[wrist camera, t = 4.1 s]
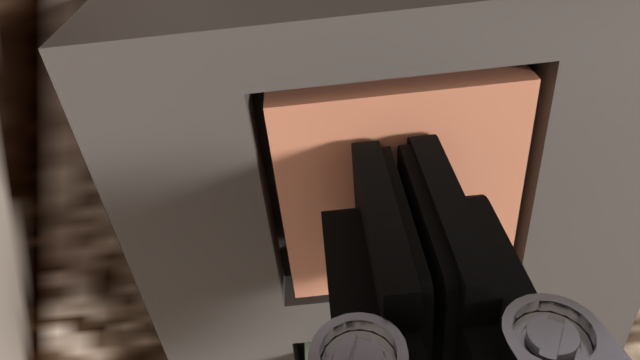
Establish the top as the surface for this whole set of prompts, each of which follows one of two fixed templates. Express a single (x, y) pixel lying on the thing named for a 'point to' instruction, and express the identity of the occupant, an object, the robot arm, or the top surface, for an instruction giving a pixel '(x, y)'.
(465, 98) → the terracotta button
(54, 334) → the top surface
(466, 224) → the robot arm
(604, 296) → the button panel
